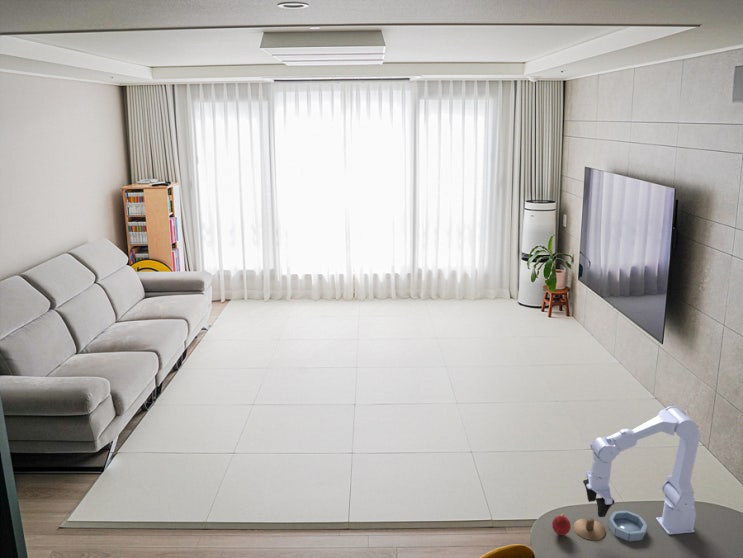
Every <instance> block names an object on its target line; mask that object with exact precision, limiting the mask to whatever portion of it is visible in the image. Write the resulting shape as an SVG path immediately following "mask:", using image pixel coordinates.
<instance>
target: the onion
mask: <svg viewBox="0 0 743 558" xmlns="http://www.w3.org/2000/svg"><path fill="white" fill-rule="evenodd" d="M551 524H552V525H551V526H552V529H553V531H554V533H556V534H557V535H559V536H565V535H567V534H568V533H569V532H570V531H571V522H570V520H569V518H568V517H566V516H565V514H564V513H561V514H560V515H558V516H556V517H554V519H553V520H552V523H551Z"/></svg>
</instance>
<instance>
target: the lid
mask: <svg viewBox="0 0 743 558" xmlns="http://www.w3.org/2000/svg"><path fill="white" fill-rule="evenodd" d="M573 529H574V532H575V533H576V535H578V536H579V537H581V538H583V539H584V540H585V539H586V540H589V541H599V540H602V539H603V538H604V537H605V535H606V530H605V527H604V526H603V524H602V523H600V522H599V521H598V520H595V519H594V518H592V517H587V518H580V519H577V520H576V521H575V522H574V524H573Z"/></svg>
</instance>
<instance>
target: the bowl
mask: <svg viewBox="0 0 743 558" xmlns="http://www.w3.org/2000/svg"><path fill="white" fill-rule="evenodd" d="M647 527H648V525H647V523H646V522H645V520H644V518H642V516H641V515H639V514H636V513H634V512H631V511H630V510H619V511H618V510H617V511H616V510H615V511H613V512H612V514H610V516H609V520H608V528H609V529H610V531H611V532H612V534H613V535H614V536H615V537H618V538H619V539H622V540H625V541H626V542H634V541H635V542H636V541H642V540H643V539H644V537H645V535H646V534H647Z"/></svg>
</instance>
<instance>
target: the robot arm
mask: <svg viewBox="0 0 743 558" xmlns="http://www.w3.org/2000/svg"><path fill="white" fill-rule="evenodd" d="M661 432H662V433H664V434H668V435H670V436H675V434H676V435H677V436H678V437H679V440H678V445H677V450H676V453H675V454H676V455H675V461H674V465H673V469H672V474H670V475H667V476H666V479H665V481H664V482H663V484H662V486H661V490H662V493H663V495H664V503H663V510H662V514H661V515H662V516H660V517H655V520H656V521H657V522H658V524H659V525H660V526H661V528H662V529H663V530H664V531H665V533H666V534H667V535H677V534H686V533H687V534H689V533H695V529H694V526H695V521H696V517H697V513H696V512H697V511H696V508H695V503H696V502H695V501H696V500H695V497H694V495H695V492H694V489H693V486H692V483H691V478H692V474H693V470H694V465H695V462H696V458H697V457H696V456H697V454H698V447H699V444H700V438H701V433H700V430H699V425H698V424H697V422H694V421H693V420H692V419H691V418H690V417H689V416H688V415H687V413H685V412H684V411H683V410H682V409H681V408H680V407H678V406H676V405H670V406H668V407H666V408H664V409H661V410H660V411H659V413H658V414H657V416H655V417H653V418H651V419H649V420H648V421H646V422H644V423H641V424H640V425H639V426H637V427H634V428H633V429H629V428H621V429H620V430H619V431H617V432H615V433H613V434H611V435H608V436H606V437H603V436H599V437H596V438H595V439H593V441H592V443H590V449H591V450H592V452H593V453H592V463H591V471H589V470H588V471H586V478H587V479H583V480H582V482H583V484H584V487H585V491H586V496H587V497H586V498H587V501H588V502H589V503H591V502H596V506H597V516H598V518H605V517H606V515H607V514H608V512H609V510H610V508H611V507H613V506H614V504H615V499H614V498H613V497H612V495H611V488H610V478H611V470H612V462H613V461H614V460H615V459H616V458H617V456H618V455H620V453H622V452H624V451H626V450H629V449H630V448H632V447H635V446H636V444H637V443H638V441H639V440H643V439H644V438H648V437H650V436H653V435H656V434H658V433H661ZM598 495H599V496H600V497H597V496H598Z"/></svg>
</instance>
